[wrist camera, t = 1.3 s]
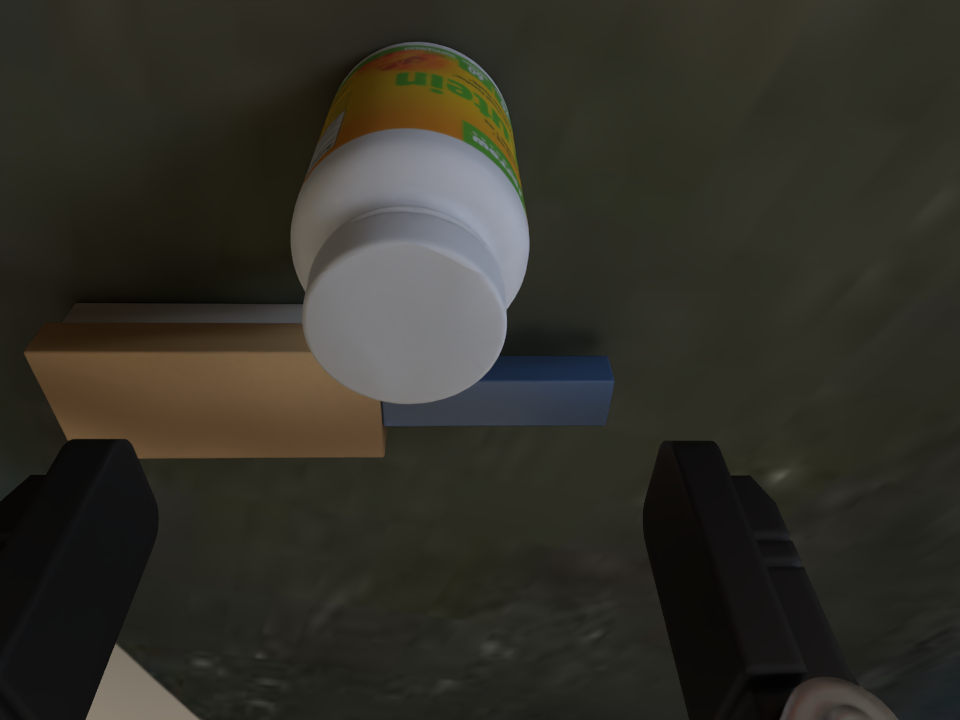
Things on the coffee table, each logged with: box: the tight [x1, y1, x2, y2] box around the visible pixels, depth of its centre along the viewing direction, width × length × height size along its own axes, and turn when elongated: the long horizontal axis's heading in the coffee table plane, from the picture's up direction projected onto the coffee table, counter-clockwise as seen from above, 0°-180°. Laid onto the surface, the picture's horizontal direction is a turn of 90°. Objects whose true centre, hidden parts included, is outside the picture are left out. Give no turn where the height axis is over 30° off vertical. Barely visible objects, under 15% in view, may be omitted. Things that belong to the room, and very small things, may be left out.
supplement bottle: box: [291, 42, 529, 404], centre depth 17 cm, size 5×5×10 cm
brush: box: [24, 303, 615, 458], centre depth 25 cm, size 5×19×3 cm, turn 88°
